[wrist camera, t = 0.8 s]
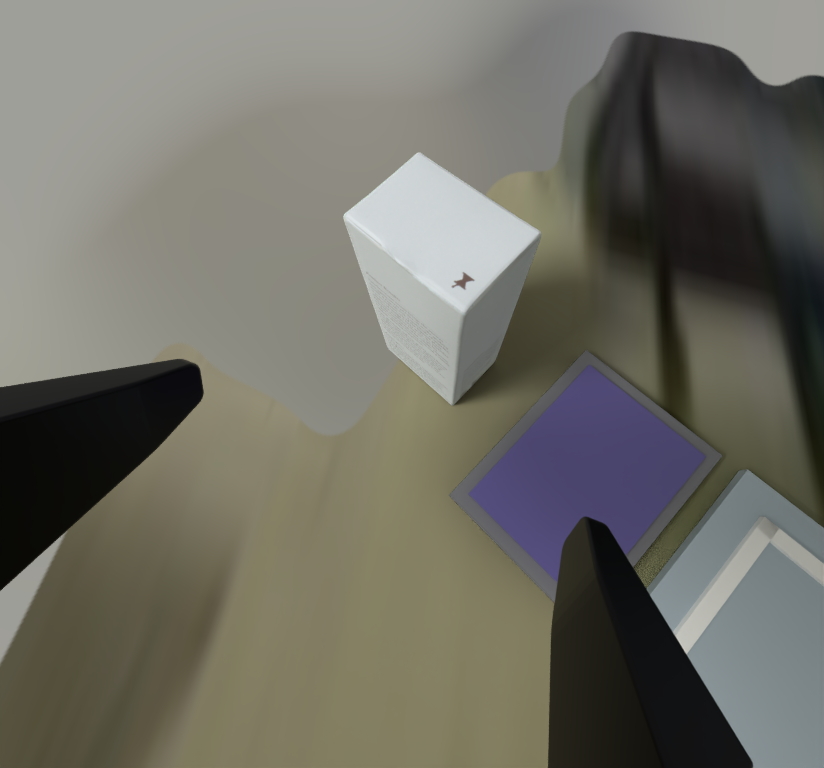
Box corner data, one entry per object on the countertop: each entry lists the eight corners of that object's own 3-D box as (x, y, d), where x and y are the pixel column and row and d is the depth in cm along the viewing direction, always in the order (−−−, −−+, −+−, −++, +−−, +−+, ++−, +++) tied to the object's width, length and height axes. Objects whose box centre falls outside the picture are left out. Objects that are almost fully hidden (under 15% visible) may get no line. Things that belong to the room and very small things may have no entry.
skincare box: (497, 360, 24) (550, 233, 12) (452, 408, 23) (464, 319, 12) (428, 304, 25) (418, 144, 14) (384, 347, 25) (335, 216, 13)
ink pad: (575, 624, 19) (584, 633, 18) (448, 495, 22) (449, 495, 20) (709, 457, 21) (726, 454, 20) (580, 355, 23) (587, 347, 22)
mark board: (878, 1025, 14) (905, 1058, 14) (567, 689, 18) (573, 698, 18) (1045, 708, 17) (1078, 719, 16) (739, 470, 21) (752, 468, 20)
